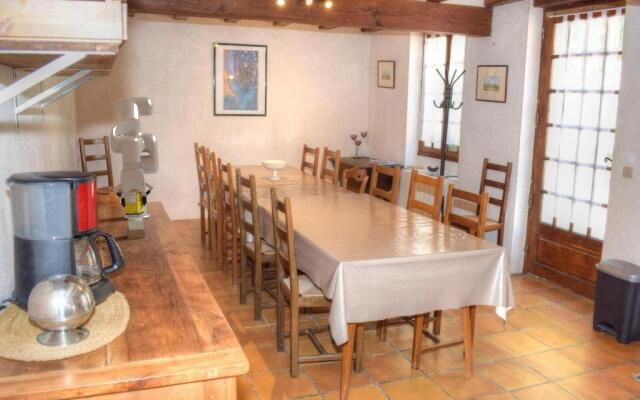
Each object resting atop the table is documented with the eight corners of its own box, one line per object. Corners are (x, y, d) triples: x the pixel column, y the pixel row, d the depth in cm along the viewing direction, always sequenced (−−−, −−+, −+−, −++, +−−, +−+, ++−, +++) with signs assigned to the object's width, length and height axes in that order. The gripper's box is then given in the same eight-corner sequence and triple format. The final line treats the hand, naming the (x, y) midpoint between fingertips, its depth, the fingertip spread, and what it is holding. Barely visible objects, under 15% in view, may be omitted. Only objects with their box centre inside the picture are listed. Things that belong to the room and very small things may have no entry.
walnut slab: (127, 236, 258) (126, 227, 258) (143, 234, 261) (143, 226, 260) (128, 239, 252) (127, 230, 251) (145, 238, 254) (144, 229, 254)
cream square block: (128, 227, 257) (127, 218, 257) (142, 226, 260) (142, 217, 259) (129, 230, 252) (128, 221, 251) (143, 229, 254) (143, 220, 253)
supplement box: (144, 212, 257) (142, 188, 255) (138, 215, 251) (137, 190, 249) (131, 212, 258) (129, 188, 256) (125, 215, 252) (123, 190, 250)
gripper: (151, 164, 258) (153, 203, 261) (109, 166, 251) (112, 206, 254) (153, 166, 251) (155, 206, 254) (111, 168, 244) (113, 209, 247)
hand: (134, 206), depth 254 cm, fingers closed on supplement box, 8 cm apart
